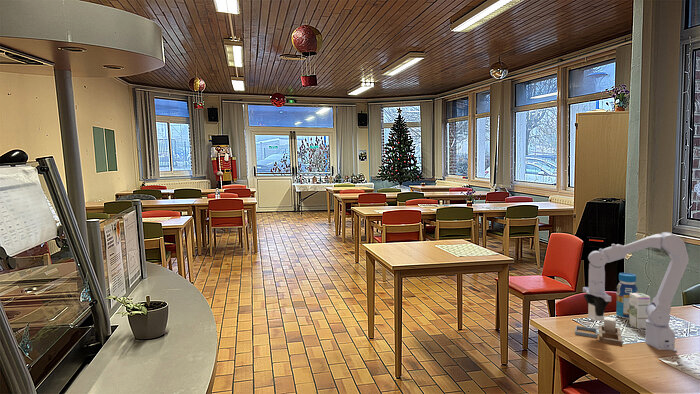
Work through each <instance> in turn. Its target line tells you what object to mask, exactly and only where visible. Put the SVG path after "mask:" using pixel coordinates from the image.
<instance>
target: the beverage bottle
mask: <svg viewBox="0 0 700 394" xmlns="http://www.w3.org/2000/svg"><path fill="white" fill-rule="evenodd" d="M618 280H619V282H618V284H617V285H616V292H615V294H616V307H615V308H616V311H615V315H616V316H617V317H618V316H619V318H621V317H622V319H624V318H626V320H629V298H630V293H638V291H639V290H638V287H637V285H636V282H637V275H636V274H634V273H629V272H619V274H618Z"/></svg>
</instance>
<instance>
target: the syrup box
mask: <svg viewBox="0 0 700 394" xmlns="http://www.w3.org/2000/svg"><path fill="white" fill-rule="evenodd" d="M650 303H651V296H650V295H648V294H645V293H643V292H637V293H630V298H629V319H628V324H629V325H631V326H633V327H634V328H635V329H646V319H647V318H648V317H649V316H648V315H647V314H646V307H647V305H649V304H650Z"/></svg>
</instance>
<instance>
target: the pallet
mask: <svg viewBox="0 0 700 394" xmlns="http://www.w3.org/2000/svg"><path fill="white" fill-rule="evenodd" d="M598 341H599V342H600V343H604V344H609V345H617V346H622V345H623V341H622V334H621V328H620V327H616V333H615V332H608V331H604V325H601V324H598Z"/></svg>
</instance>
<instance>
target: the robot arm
mask: <svg viewBox="0 0 700 394" xmlns="http://www.w3.org/2000/svg"><path fill="white" fill-rule="evenodd" d="M686 247H687V246H686V243H685V241H684V240H682V239H681V237H679V236H678V235H676V234H674V233H672V232H670V231H663V232H661V233H656V234H651V235H649V236H646V237H642V238H641V239H637V240H635V241H633V242H631V243H627V244H624V245H623V244H619V243H617V244H615V243H611V246H608V247H605V248H599V249H598V250H592V251H591V252H590V253H589V254H588V256H587V259H588V260H587V261H589V263H588V286H583V287H582V293H585V294H583V297H584V299H585V301H586V303H587V305H588V303H595V305H596V313H597V316H603V314H604V315H605V311H606V308H607V306H608V304H609V303H611V302H612V296H611V295H610V294H608V293H606V289H605V287H606V271H605V270H606V269H605V265H606V264H608V263H612V262H615V261H619V260H622V259H625V258H626V257H627V255H628V254H630V253H634V252H638V251H641V250H644V249H647V248H654V249H659V250H660V249H663V250H665V252H666V253H667V255H668V257H670V261H669V263H668V265H667V268H666V271H665V273H664V276H663V279H662V281H661V283H660V286H659V288H658V290H657V292H656V295H655V296H654V297H653V298H652V300H651V301H650V304H649V305H647V307H646V314H647V315H648V316H649V317H648V318H647V319H646V328H645V338H644V339H645V342H644V343H645V344H647V345H648V346H651V347H653V348H655V349H657V350H658V351H661V350H662V351H663V350H664V351H673V352H677V351H678V350H677V349H676V348H675V342H676V334H675V332H674V331H673V330H672V329H671V327H670V321H671V314H670V313H671V311H672V302H673V299H674V297H675V295H676V293H677V290H678V287H679V285H680V283H681V280H682V278H683V276H684V273H685V271H686V268H687V266H688V264H689V261H690V257H689V254H688V251H687V248H686Z"/></svg>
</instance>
